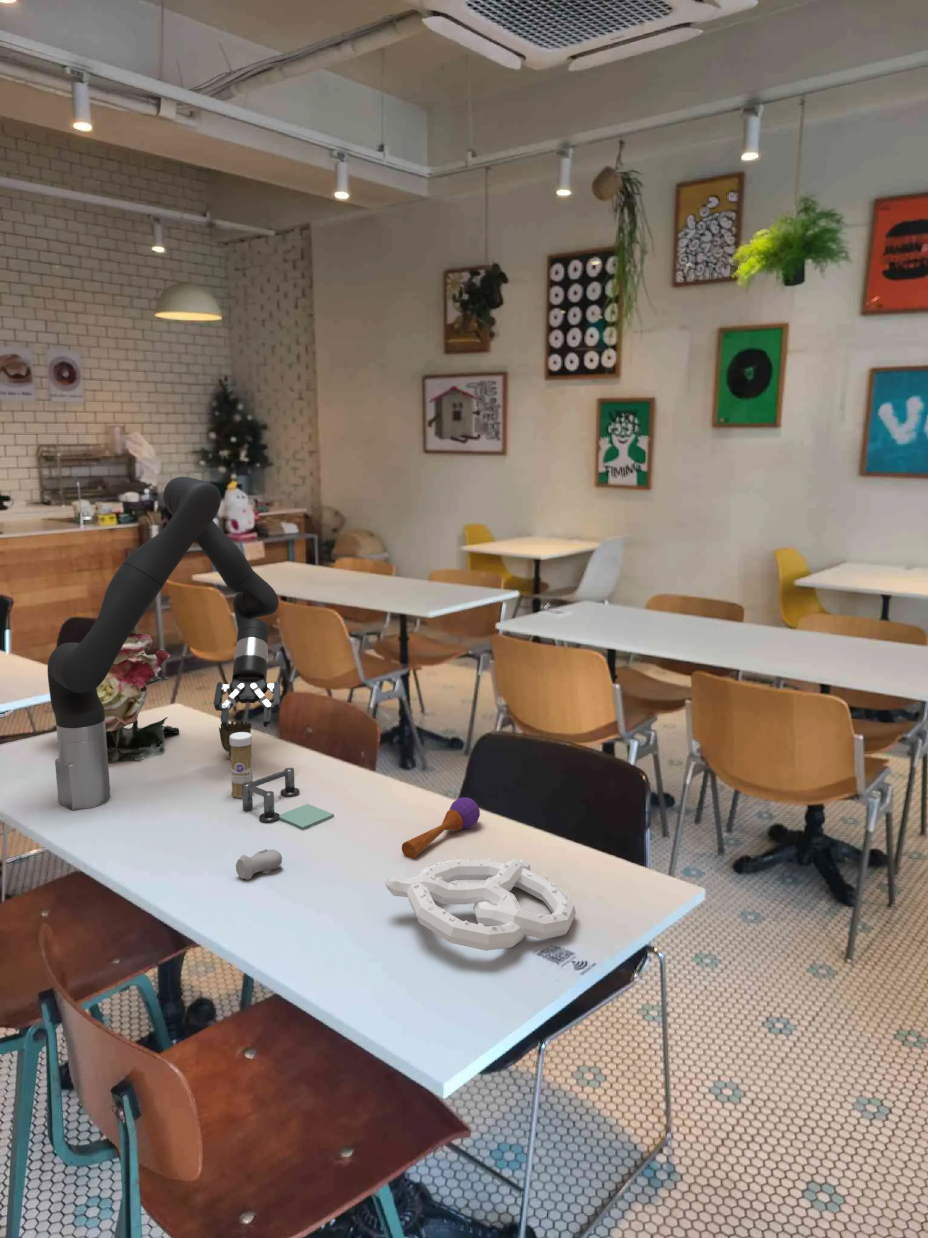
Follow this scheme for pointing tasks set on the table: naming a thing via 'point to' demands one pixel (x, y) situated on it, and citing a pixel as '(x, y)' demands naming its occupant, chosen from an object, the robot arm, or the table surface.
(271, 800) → the grey jointed rod frame
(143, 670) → the rose bouquet
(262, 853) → the grey figurine
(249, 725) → the dark brown scalloped piece
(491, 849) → the table surface
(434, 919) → the pretzel
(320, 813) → the pad
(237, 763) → the sprinkles bottle
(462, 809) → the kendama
